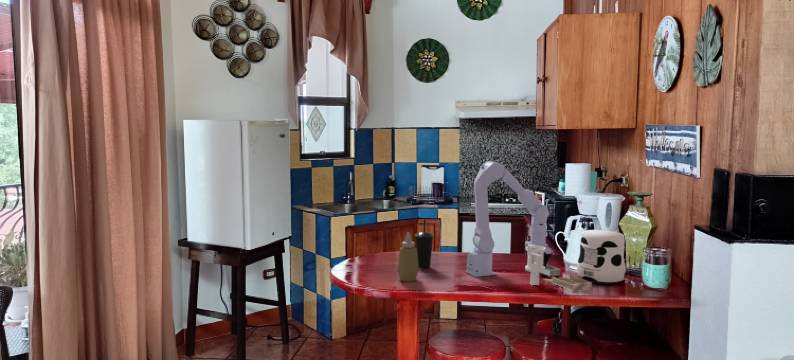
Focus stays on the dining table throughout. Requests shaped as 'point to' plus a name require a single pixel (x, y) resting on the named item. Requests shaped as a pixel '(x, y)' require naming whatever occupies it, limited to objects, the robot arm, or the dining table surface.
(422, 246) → the drinking cup
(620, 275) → the milk container
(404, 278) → the squeeze bottle
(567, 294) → the dining table surface
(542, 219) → the robot arm
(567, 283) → the dock
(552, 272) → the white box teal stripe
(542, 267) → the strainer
